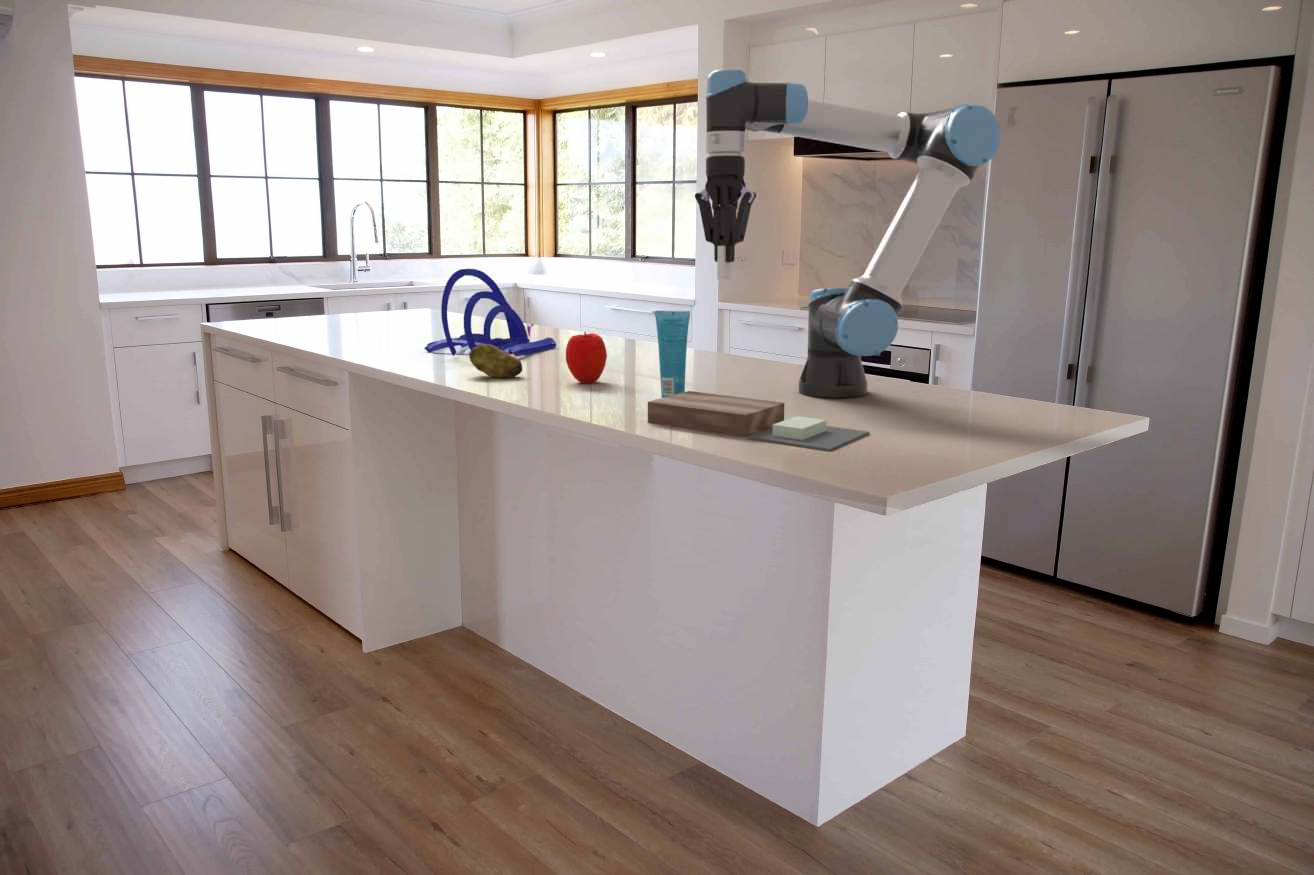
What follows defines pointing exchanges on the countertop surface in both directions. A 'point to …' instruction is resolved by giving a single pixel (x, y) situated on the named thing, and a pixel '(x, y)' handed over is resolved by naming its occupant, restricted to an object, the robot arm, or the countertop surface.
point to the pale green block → (799, 428)
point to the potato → (495, 361)
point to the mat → (815, 438)
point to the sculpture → (487, 322)
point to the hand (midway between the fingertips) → (724, 278)
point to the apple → (586, 357)
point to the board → (716, 413)
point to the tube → (672, 350)
